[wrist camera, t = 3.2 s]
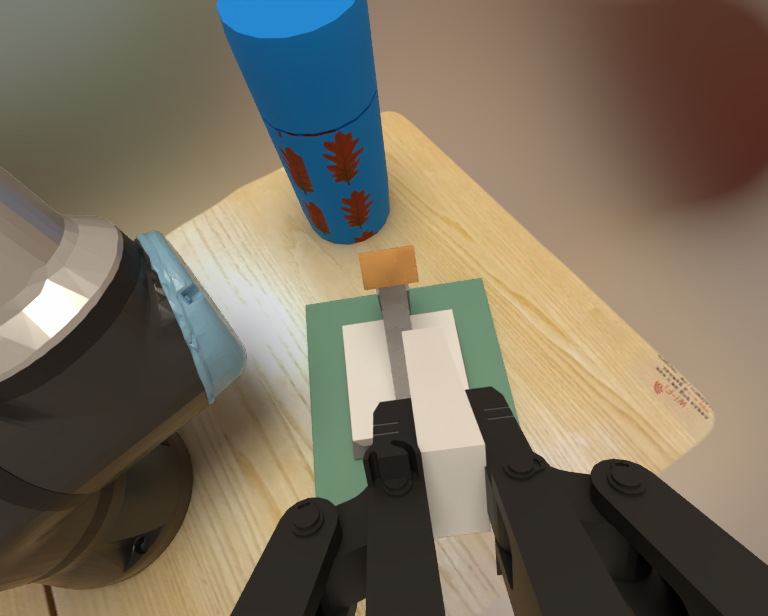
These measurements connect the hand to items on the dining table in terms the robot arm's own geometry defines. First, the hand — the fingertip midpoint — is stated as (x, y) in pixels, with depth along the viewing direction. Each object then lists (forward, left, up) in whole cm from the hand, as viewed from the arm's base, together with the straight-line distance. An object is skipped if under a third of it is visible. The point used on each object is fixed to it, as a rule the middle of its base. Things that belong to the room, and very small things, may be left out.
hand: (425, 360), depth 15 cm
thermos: (-5, +28, -26) cm, 39 cm away
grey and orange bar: (-1, +4, -14) cm, 15 cm away
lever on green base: (-1, +4, -26) cm, 27 cm away
